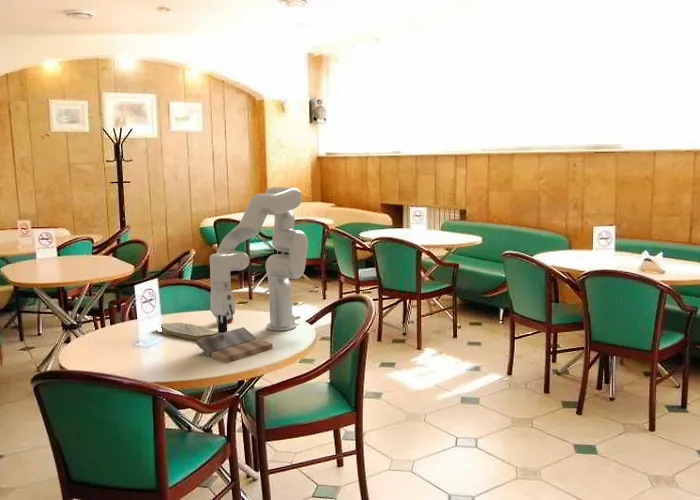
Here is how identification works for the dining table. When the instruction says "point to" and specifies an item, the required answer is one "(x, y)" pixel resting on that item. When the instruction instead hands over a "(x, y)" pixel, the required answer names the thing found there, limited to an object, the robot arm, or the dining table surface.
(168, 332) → the stone slab
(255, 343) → the walnut board
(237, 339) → the smoked oak plank
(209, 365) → the dining table surface
